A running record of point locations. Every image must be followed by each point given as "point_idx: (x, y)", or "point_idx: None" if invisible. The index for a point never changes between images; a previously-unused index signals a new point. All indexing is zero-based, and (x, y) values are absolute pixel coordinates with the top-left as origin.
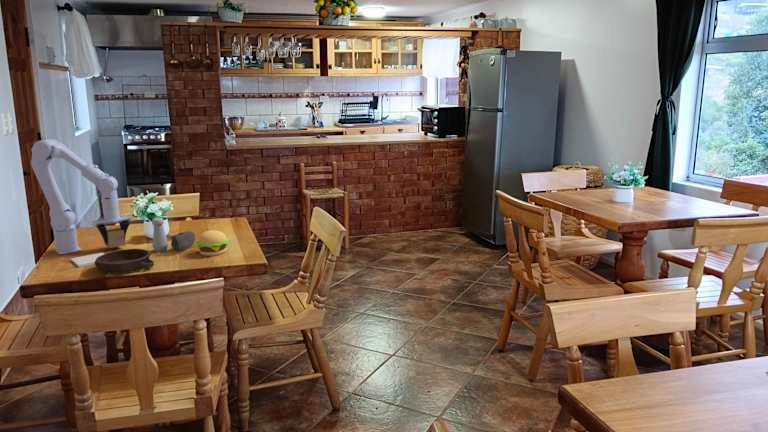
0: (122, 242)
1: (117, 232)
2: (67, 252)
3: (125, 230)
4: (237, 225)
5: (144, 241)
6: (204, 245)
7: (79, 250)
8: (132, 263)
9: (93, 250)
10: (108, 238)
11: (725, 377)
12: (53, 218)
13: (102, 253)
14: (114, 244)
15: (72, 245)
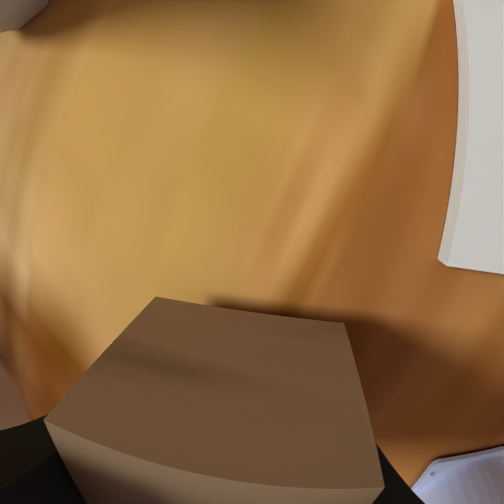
0: (173, 321)
1: (171, 451)
2: (498, 450)
3: (38, 431)
4: None
5: (25, 348)
6: None
7: (447, 459)
8: None
9: (391, 433)
10: (366, 409)
11: None
12: None
13: (464, 223)
14: (283, 333)
15: (480, 488)
